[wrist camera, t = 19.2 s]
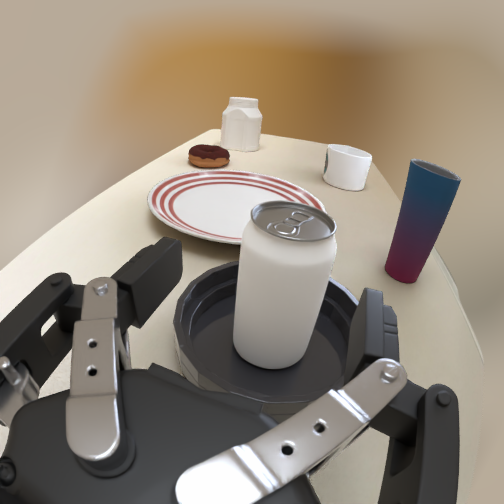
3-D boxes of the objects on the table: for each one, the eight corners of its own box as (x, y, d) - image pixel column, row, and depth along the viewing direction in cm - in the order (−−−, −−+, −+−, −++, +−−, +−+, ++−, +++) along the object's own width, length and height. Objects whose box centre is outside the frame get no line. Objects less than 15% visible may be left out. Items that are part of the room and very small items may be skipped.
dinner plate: (289, 184, 63) (291, 169, 61) (355, 257, 40) (361, 236, 39) (153, 185, 56) (152, 168, 54) (142, 270, 34) (139, 245, 32)
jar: (215, 147, 84) (218, 97, 76) (226, 142, 92) (230, 96, 84) (253, 153, 82) (259, 101, 74) (262, 147, 90) (267, 100, 82)
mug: (367, 195, 63) (375, 160, 59) (321, 185, 65) (327, 150, 60) (361, 178, 74) (367, 148, 70) (322, 169, 76) (327, 139, 72)
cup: (370, 269, 38) (403, 160, 30) (389, 253, 43) (419, 157, 35) (413, 294, 34) (457, 183, 26) (428, 274, 39) (464, 177, 31)
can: (217, 347, 25) (222, 217, 19) (258, 307, 30) (275, 190, 23) (283, 385, 22) (321, 256, 16) (317, 336, 27) (354, 218, 21)
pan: (306, 278, 35) (313, 251, 33) (389, 386, 23) (408, 359, 21) (164, 300, 30) (161, 270, 28) (205, 451, 17) (204, 431, 15)
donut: (228, 170, 67) (229, 153, 64) (184, 168, 66) (185, 151, 64) (230, 159, 75) (231, 144, 73) (191, 157, 74) (191, 142, 72)
